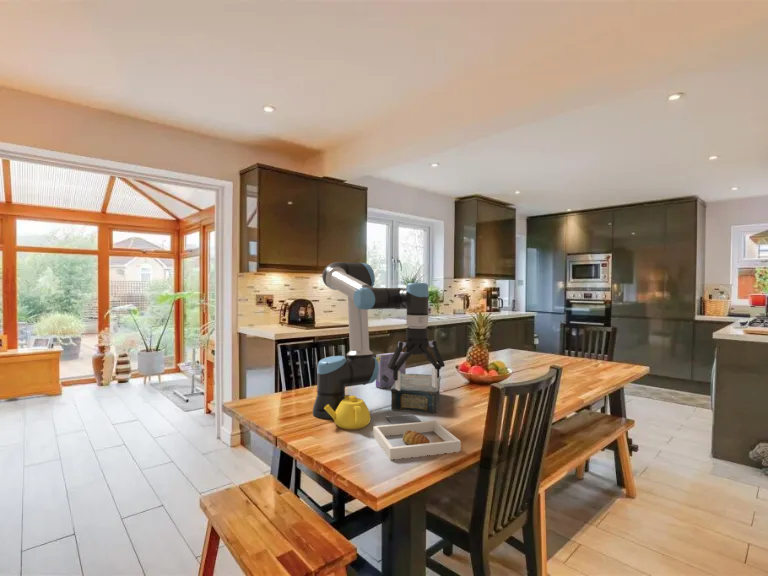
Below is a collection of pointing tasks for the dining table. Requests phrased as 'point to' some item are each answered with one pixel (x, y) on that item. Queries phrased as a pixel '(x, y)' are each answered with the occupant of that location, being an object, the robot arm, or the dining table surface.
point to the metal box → (415, 394)
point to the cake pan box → (387, 370)
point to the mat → (403, 419)
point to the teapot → (350, 413)
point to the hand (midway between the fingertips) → (416, 388)
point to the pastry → (414, 438)
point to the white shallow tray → (420, 449)
